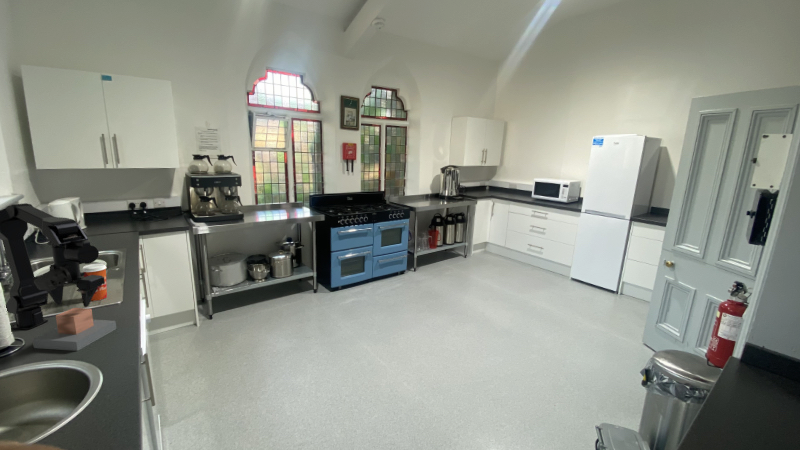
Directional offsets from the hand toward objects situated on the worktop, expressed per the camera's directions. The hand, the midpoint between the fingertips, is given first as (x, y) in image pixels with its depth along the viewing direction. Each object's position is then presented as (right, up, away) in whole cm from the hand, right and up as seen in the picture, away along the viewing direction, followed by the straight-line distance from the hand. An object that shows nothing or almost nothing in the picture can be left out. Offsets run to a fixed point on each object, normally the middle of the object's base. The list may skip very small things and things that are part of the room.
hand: (72, 305), depth 112 cm
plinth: (0, -11, +1) cm, 11 cm away
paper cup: (-19, -4, +31) cm, 37 cm away
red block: (0, -8, +1) cm, 8 cm away
